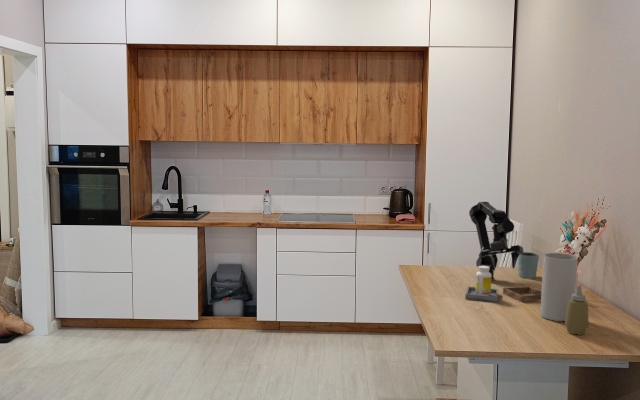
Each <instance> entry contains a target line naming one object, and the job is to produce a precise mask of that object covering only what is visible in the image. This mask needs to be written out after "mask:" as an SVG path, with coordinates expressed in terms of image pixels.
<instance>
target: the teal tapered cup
mask: <svg viewBox="0 0 640 400" xmlns="http://www.w3.org/2000/svg"><path fill="white" fill-rule="evenodd" d="M539 257H540V254H539V253H535V252H528V251H527V252H526V251H524V252H522V253H521V255H519V256H518V259H517V260H518V261H517V263H518V265H517V266H518V267H517V268H518V274H517V275H518V277H519V276H520V277H519V278H521V277H523V278H522V279H526V278H534V279H536V278H537V272H538V264H539V259H540V258H539ZM535 277H536V278H535Z"/></svg>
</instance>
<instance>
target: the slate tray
mask: <svg viewBox="0 0 640 400" xmlns="http://www.w3.org/2000/svg"><path fill="white" fill-rule="evenodd" d="M475 290H476V286H467V287H466V291H465V294H464V296H465V298H464V300H471V301H481V302H491V303H498V299H499V289H497V288H491V295H490V296H485V295H476V293H475Z"/></svg>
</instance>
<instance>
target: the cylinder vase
mask: <svg viewBox="0 0 640 400" xmlns="http://www.w3.org/2000/svg"><path fill="white" fill-rule="evenodd" d="M578 260H579V258H578V256H576V255H573V254H569V253H563V252H547V253H544V254H543V263H542V276H541V277H542V278H541V291H542V293H541V301H540V311H539V313H540V317H542V318H544V319H545V318H546V319H545V320H548V319H549V321H552V320H553V321H552V322H559V321H561V322H560V323H562V322H563V321H565V318H566V313H567V307H568V302H569V300H571V298H572V294H575V292H576V289H577V273H578Z"/></svg>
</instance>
